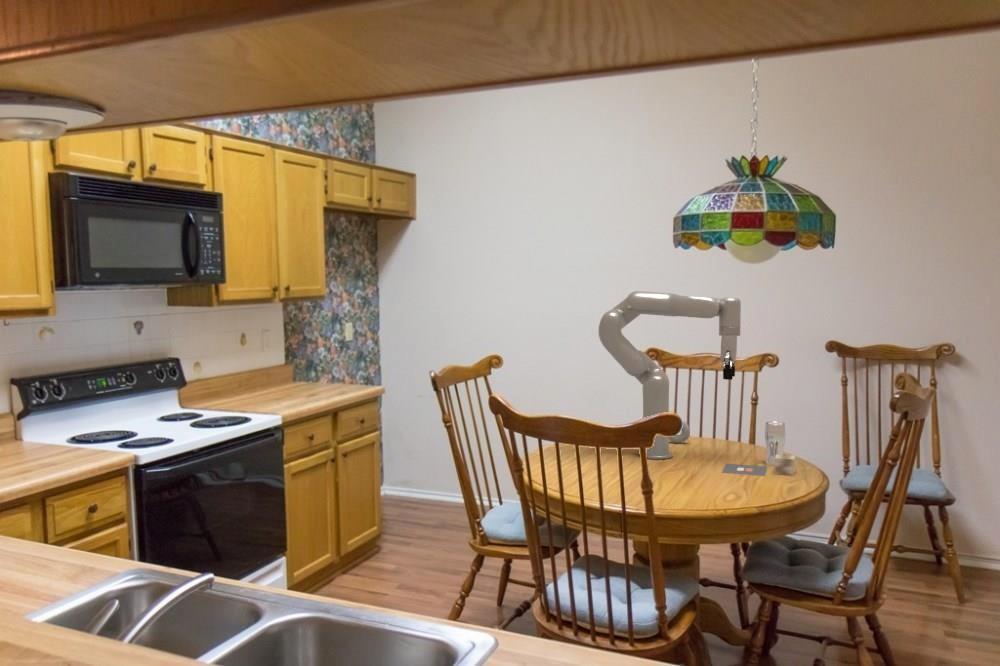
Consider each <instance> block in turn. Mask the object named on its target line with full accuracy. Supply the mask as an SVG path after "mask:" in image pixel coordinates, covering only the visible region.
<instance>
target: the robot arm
mask: <svg viewBox="0 0 1000 666" xmlns="http://www.w3.org/2000/svg"><path fill="white" fill-rule="evenodd" d="M741 303H742V302H741V299H739V298H738V297H723V298H717V297H710V296H709V297H708V296H707V297H701V296H690V295H689V296H687V295H680V294H677V293H670V292H658V291H657V292H653V291H640V290H637V291H636V290H635V291H632V292H630V293H629V294H628V296H626V297H625V299H623V300H622V301H621V302H620V303H618V304H617V305H616V306H614V307H613V308H612V309H610V310H608V311H606V312H605V313H604V314H603V315H602V316H601V319H600V322H599V325H598V337H599V341H600V342H601V344H602V346H603V347H604V349H605V350H606V351H607V352H608V353H609V354H610V355H611V357H612V358H614V360H615V361H616V362H617V363H618V364H619V365H620V366H621V367H622V369H624V371H625V372H626V373H627V374H628V375H629V376H631V377H634V378H635V379H636V380H638V382H639V383H640V384H641V385H642V419H643V418H644V417H647V416H651V415H655V414H658V413H662V412H669V413H670V408H669V407H670V405H669V404H670V400H669V399H670V380H669V377H668V375H667V374H666V373H665V371H664V370H662V369H661V367H659V365H658V364H657V363H656V362H655V361H654V360H653V359H652V358H651V357H650V356H649V355H648V354H647V353H645V352H644V351H642V350H638V349H637V348H636V347H635V346H634V345H633V344H632V343H631V341H630V340H628V338H626V337H625V336H624V334H623V332H622V329H624V328H625V327H627V326H628V325H629V324H630V323H631V322H633V321H634V320H635V319H637V318H638V317H639V316H641V315H650V316H651V315H652V316H661V317H662V316H664V317H665V316H666V317H686V318H698V319H699V318H700V319H713V318H714V317H718V336H720V337H721V340H720V360H719V361H720V363H723V369H722V379H723V380H729V381H730V380H731V381H732V380H733V378H734V377H736V364H735V362H736V360H737V354H738V353H737V351H738V350H737V349H738V337H739V336H741V311H742V310H741V309H742V307H741ZM669 446H670V440H669V437H663V436H656V438H655V442H654V446H653V447H652V448H649V449H647V457H648V458H647V459H651V460H667V459H671V458H673V457H674V453H673V452H672V451H670V449H669V448H670V447H669Z"/></svg>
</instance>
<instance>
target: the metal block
mask: <svg viewBox="0 0 1000 666" xmlns="http://www.w3.org/2000/svg"><path fill="white" fill-rule="evenodd" d="M795 460H796V459H795V455H788V454H783V455H776V456H775V465H774V474H775V475H780V476H781V475H783V476H795Z"/></svg>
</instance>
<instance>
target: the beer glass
mask: <svg viewBox="0 0 1000 666" xmlns="http://www.w3.org/2000/svg"><path fill="white" fill-rule="evenodd" d="M786 439H787V438H786V423H784V422H782V421H766V422H765V426H764V441H765V447H766V461H765V463H766V464H767V465H769V466H770V465H771V466H775V456H776V455H784V449H785V445H786Z"/></svg>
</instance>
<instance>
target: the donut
mask: <svg viewBox="0 0 1000 666" xmlns="http://www.w3.org/2000/svg"><path fill="white" fill-rule="evenodd" d="M690 434H691V429H690V427H689V424H688V423H687V422H686V421H684V420H683V428H682V430H681V433H680V434H676V436H674V437H669V442H672V443H674V444H682V443H684V442H686V441H687V440H688V439H689V438H690Z"/></svg>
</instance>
